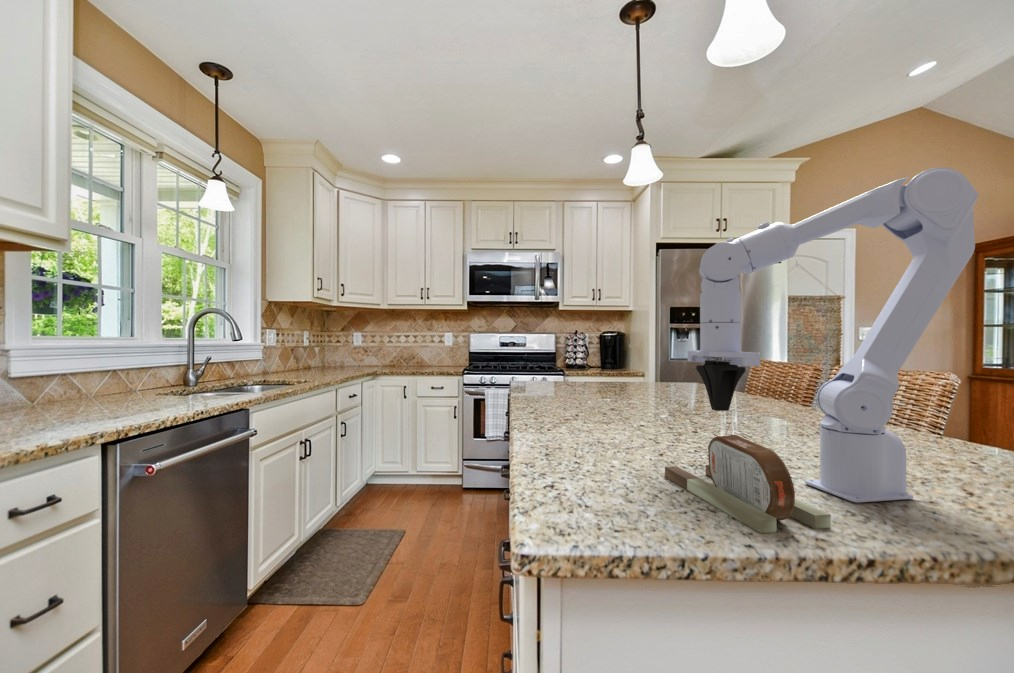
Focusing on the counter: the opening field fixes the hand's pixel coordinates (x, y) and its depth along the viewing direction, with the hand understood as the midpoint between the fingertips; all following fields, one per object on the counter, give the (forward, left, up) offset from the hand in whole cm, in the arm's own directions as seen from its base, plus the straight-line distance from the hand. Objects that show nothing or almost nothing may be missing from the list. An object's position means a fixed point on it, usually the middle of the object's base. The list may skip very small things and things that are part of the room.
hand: (720, 410), depth 67 cm
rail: (+4, +8, -10) cm, 14 cm away
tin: (+5, +11, -11) cm, 16 cm away
